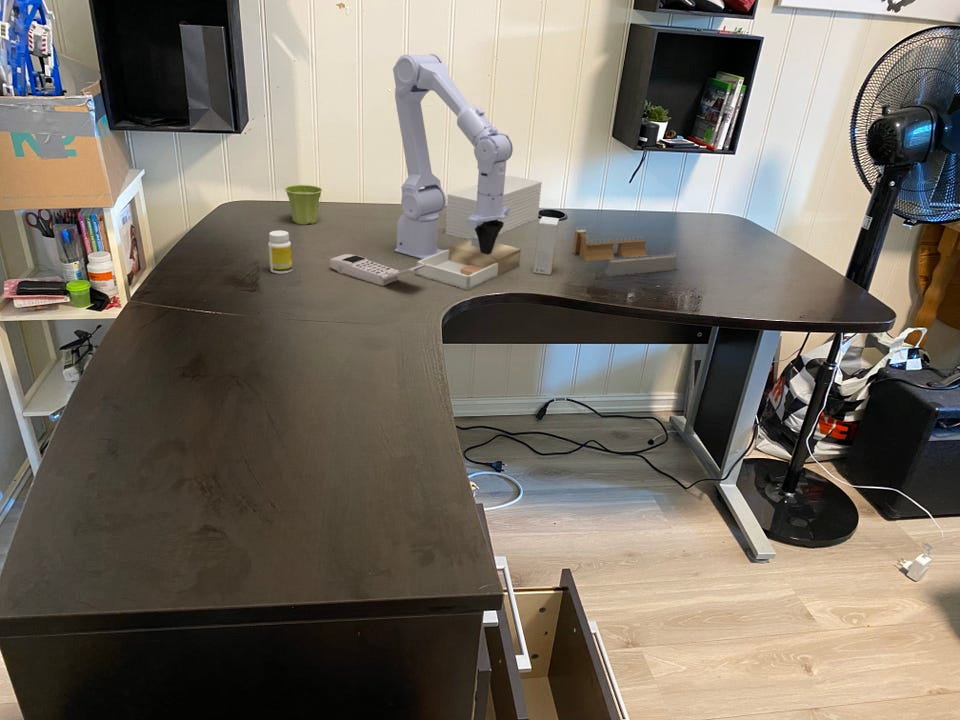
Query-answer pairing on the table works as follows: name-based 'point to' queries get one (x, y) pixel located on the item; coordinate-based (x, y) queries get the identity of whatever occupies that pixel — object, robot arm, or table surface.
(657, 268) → the skate ramp
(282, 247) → the supplement bottle
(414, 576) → the table surface
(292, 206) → the plant pot
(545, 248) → the skincare box
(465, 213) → the stack of papers
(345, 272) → the mobile phone
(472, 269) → the terracotta tile
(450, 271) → the white tray
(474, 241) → the blue tile
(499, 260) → the oak block
